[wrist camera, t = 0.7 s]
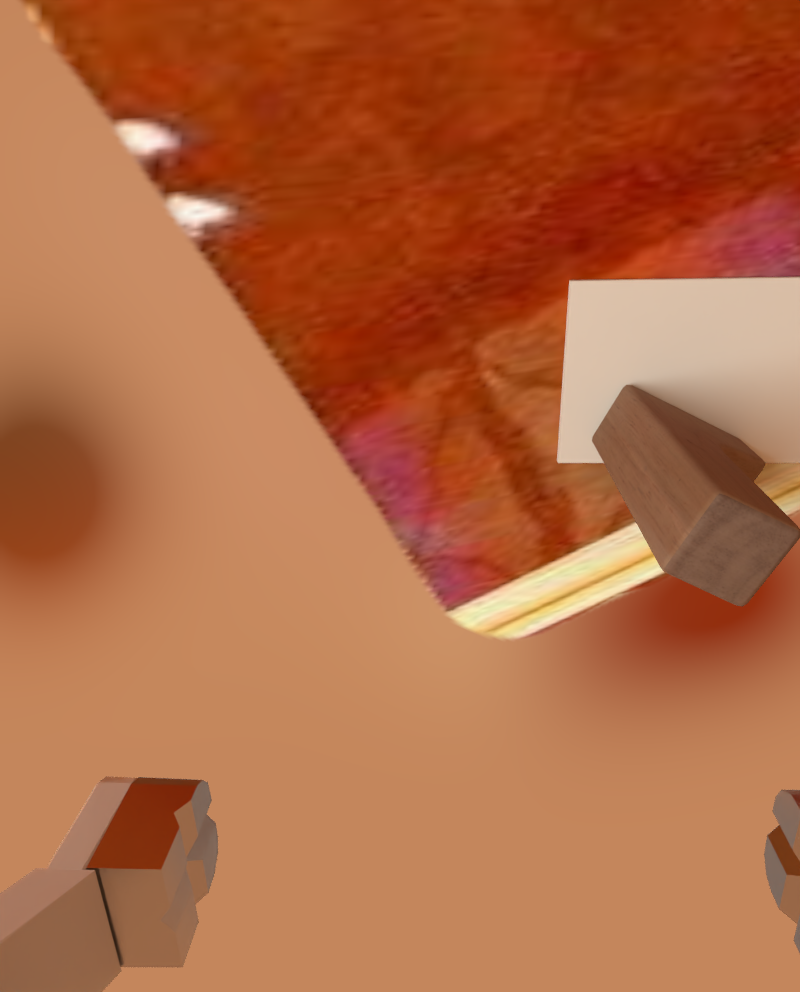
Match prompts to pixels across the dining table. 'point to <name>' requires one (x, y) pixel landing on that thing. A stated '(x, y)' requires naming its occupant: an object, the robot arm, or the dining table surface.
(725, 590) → the wooden block
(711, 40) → the dining table surface
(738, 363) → the mat
